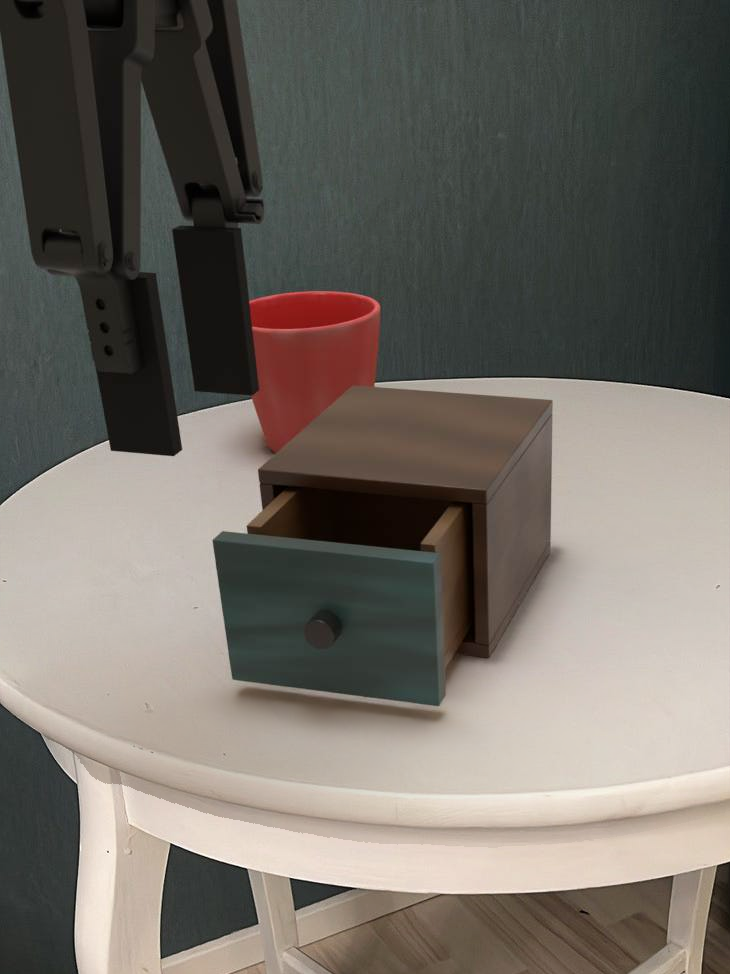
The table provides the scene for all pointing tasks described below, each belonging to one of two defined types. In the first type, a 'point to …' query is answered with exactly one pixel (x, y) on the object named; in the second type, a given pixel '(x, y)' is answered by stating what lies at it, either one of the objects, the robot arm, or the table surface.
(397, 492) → the cabinet
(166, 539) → the table surface
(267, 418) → the flower pot
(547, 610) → the table surface
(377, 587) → the drawer
